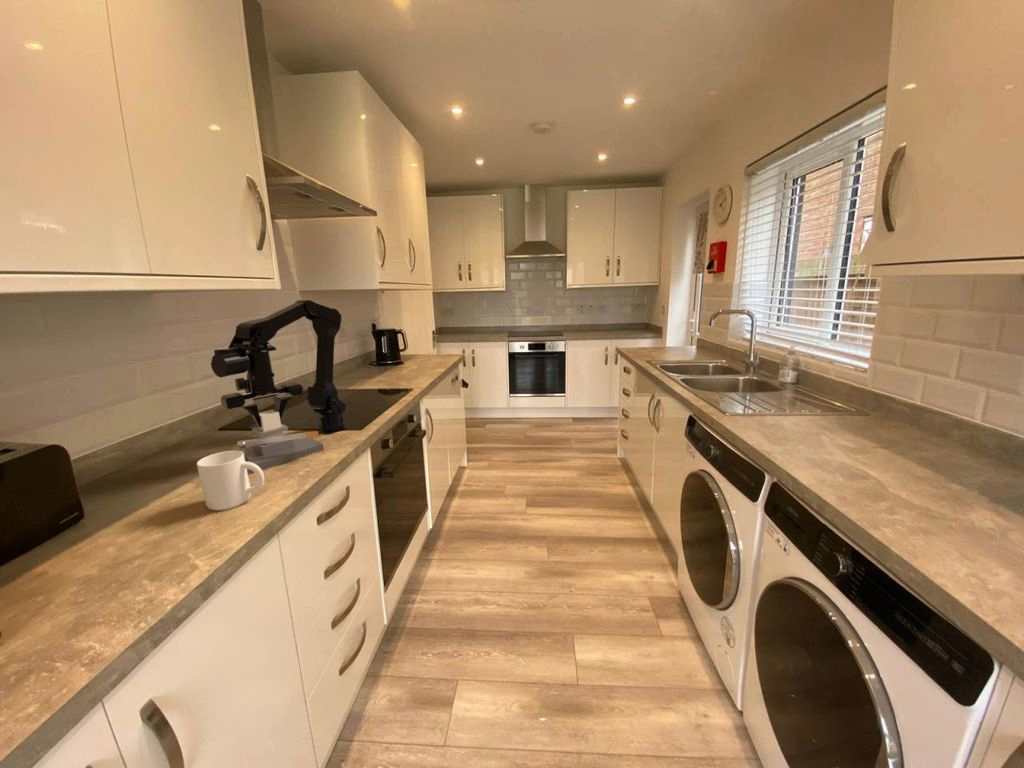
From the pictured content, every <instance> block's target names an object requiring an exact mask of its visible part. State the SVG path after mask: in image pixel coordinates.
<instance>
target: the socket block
mask: <svg viewBox="0 0 1024 768" xmlns="http://www.w3.org/2000/svg"><path fill="white" fill-rule="evenodd" d="M282 433H283V432H282ZM283 435H287V434H285V433H283ZM238 448H239V449H238V450H237V451H241V452H243V453H244V458H245V462H251V463H254V464H256V465H258V466H259V467H260V468H261V470H262V471H265V470H267V469H270V468H269V467H271V468H273V467H272V466H274V467H276V466H275V465H277V466H279V464H280V465H283V464H286V463H289V462H292V461H291V460H293V461H295V460H294V459H296V460H298V459H297V458H299V459H301V458H300V457H302V458H304V457H303V456H305V455H308V456H310V455H309V454H312V453H315V452H317V451H321V450H324V451H325V449H324V443H322V442H320V441H317V439H316V440H315V439H313V437H311V438H302V439H295V440H287V441H280V442H273V443H269V444H258V445H251V446H248V447H247V446H245V447H238ZM321 452H322V451H321ZM315 454H316V453H315ZM312 455H313V454H312ZM305 457H306V456H305ZM288 461H289V462H288ZM285 462H286V463H285ZM282 463H283V464H282ZM266 468H267V469H266ZM247 473H248V476H250V475H252V474H255V473H254V471H252V470H250V469H247Z"/></svg>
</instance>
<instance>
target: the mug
mask: <svg viewBox="0 0 1024 768" xmlns="http://www.w3.org/2000/svg"><path fill="white" fill-rule="evenodd" d="M196 467H197V471H198V476H199V479H200V484H201V489H202V494H203V498H204V501H205V505H206V508H208V509H209V510H210V511H211V510H212V511H216V512H217V511H225V510H230V509H234V508H237V507H238V506H241V505H243V504H245V503H246V502H247V501H248V500H249V499H250V498H251V496H252V494H254V493H257V492H258V491H260V490H261V489H262V487H263V486H264V483H265V474H264V470H261V468H260V467H259V466H258V465H256V464H254V463H251V462H245V458H244V453H243V452H241V451H238V450H227V451H221V452H217V453H216V452H215V453H212V454H210V455H207V456H204V457H203V458H201V459H199V460H198V461H197V462H196ZM247 469H250V470H252V471H254V472H255V473H254V474H255V475H256V477H257V482H256V484H255V485H254V486H251V484H250V480H249V479H250V478H249V475H248V473H247Z"/></svg>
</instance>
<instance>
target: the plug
mask: <svg viewBox="0 0 1024 768" xmlns="http://www.w3.org/2000/svg"><path fill="white" fill-rule="evenodd" d="M258 412H259V411H258ZM259 416H260V420H261V427H258V426H257V427H253V428H251V430H252V433H254V434H255V435H256V436H257V435H258V436H259V439H260V438H267V437H275V436H282V435H283V432H287V431H289V426H287V425H285V424H283V423H281V421H280V416H279V412H277V411H275V409H268V410H264V411H260V412H259ZM266 444H269V443H266Z"/></svg>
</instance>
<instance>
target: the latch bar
mask: <svg viewBox="0 0 1024 768" xmlns="http://www.w3.org/2000/svg"><path fill="white" fill-rule="evenodd" d="M317 437H319V430H312V431H305V432H300V433H299V432H298V433H290V434H286V435H282V436H275V437H267V438H260V437H259V438H256V439H255V438H254V439H243V440H242V439H241V440H239V441H237V442H236V445H237V448H239V447H245V446H246V447H252V445H258V444H266V443H273V442H280V441H287V440H295V439H302V438H317Z"/></svg>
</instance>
